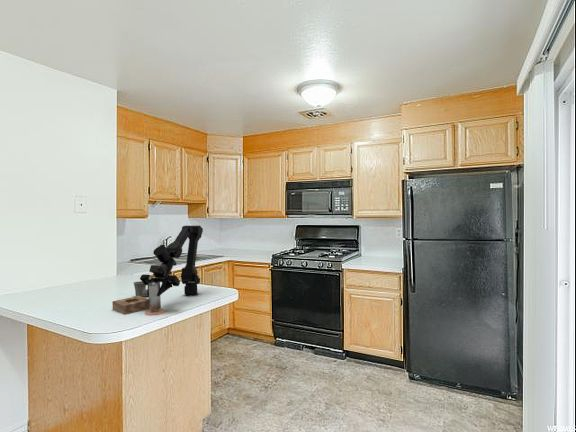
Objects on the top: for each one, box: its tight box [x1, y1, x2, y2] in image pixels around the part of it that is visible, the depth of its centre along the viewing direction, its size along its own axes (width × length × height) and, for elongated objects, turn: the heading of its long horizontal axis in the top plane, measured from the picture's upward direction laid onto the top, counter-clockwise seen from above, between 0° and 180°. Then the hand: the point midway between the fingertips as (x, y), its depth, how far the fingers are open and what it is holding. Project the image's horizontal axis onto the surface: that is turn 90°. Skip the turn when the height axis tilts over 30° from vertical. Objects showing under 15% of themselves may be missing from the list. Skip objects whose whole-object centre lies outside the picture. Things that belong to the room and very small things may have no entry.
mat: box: [144, 308, 166, 316], centre depth 160 cm, size 9×9×1 cm
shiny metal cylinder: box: [148, 281, 162, 311], centre depth 160 cm, size 5×5×12 cm
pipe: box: [133, 280, 149, 297], centre depth 191 cm, size 6×13×8 cm, turn 77°
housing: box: [112, 295, 149, 315], centre depth 167 cm, size 13×13×4 cm
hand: (152, 295), depth 159 cm, fingers closed on shiny metal cylinder, 5 cm apart
